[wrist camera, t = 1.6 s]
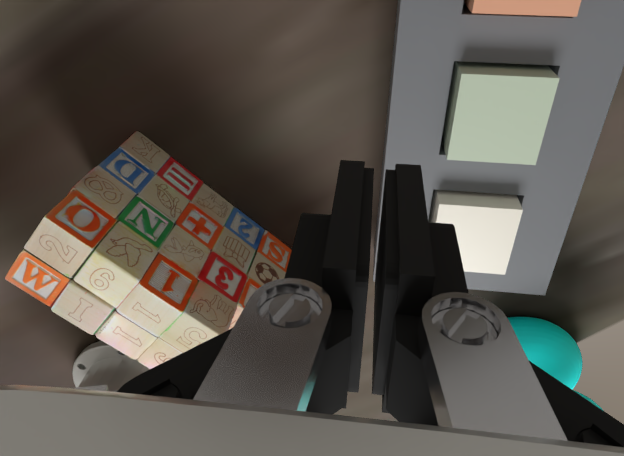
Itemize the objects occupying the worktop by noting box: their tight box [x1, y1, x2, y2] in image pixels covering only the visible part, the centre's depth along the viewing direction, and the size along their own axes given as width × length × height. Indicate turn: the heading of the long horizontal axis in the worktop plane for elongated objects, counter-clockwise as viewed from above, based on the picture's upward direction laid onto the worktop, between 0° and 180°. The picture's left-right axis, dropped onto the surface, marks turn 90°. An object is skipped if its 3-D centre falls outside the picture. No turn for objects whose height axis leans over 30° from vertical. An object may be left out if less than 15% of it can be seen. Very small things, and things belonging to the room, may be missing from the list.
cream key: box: [429, 189, 523, 275], centre depth 34 cm, size 5×5×3 cm
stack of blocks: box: [5, 131, 292, 369], centre depth 36 cm, size 21×6×12 cm, turn 49°
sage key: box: [442, 61, 560, 165], centre depth 29 cm, size 5×5×3 cm
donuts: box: [508, 317, 602, 410], centre depth 40 cm, size 10×10×10 cm
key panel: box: [373, 0, 624, 295], centre depth 31 cm, size 26×12×4 cm, turn 179°
